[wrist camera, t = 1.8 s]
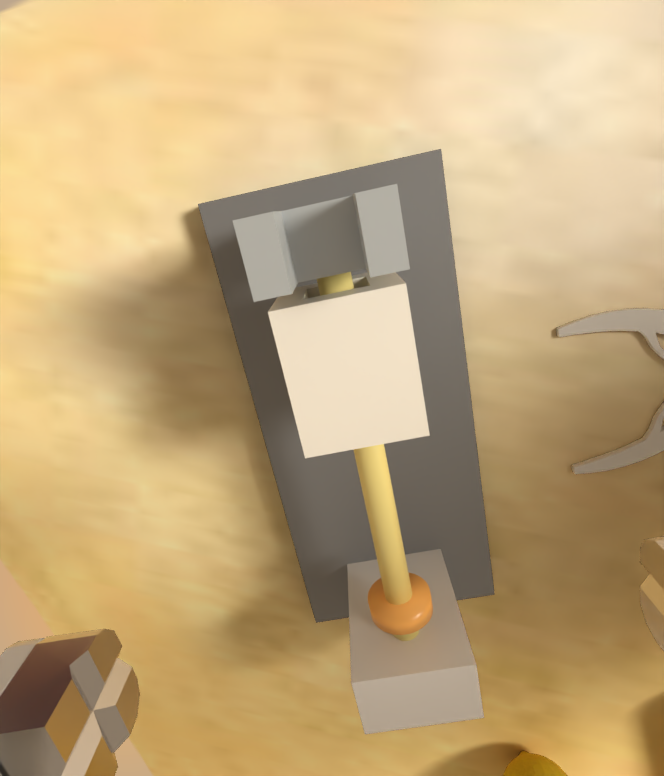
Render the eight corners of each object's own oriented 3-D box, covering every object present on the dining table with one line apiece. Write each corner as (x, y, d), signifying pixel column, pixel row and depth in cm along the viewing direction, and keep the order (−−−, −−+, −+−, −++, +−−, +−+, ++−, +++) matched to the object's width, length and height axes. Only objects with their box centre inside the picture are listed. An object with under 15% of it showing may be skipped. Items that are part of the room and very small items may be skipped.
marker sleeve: (390, 267, 22) (405, 283, 17) (411, 391, 24) (429, 435, 19) (281, 290, 22) (267, 311, 18) (310, 410, 24) (305, 458, 20)
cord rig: (436, 151, 24) (522, 102, 13) (489, 581, 33) (567, 771, 22) (203, 204, 25) (98, 200, 14) (316, 608, 34) (307, 804, 23)
